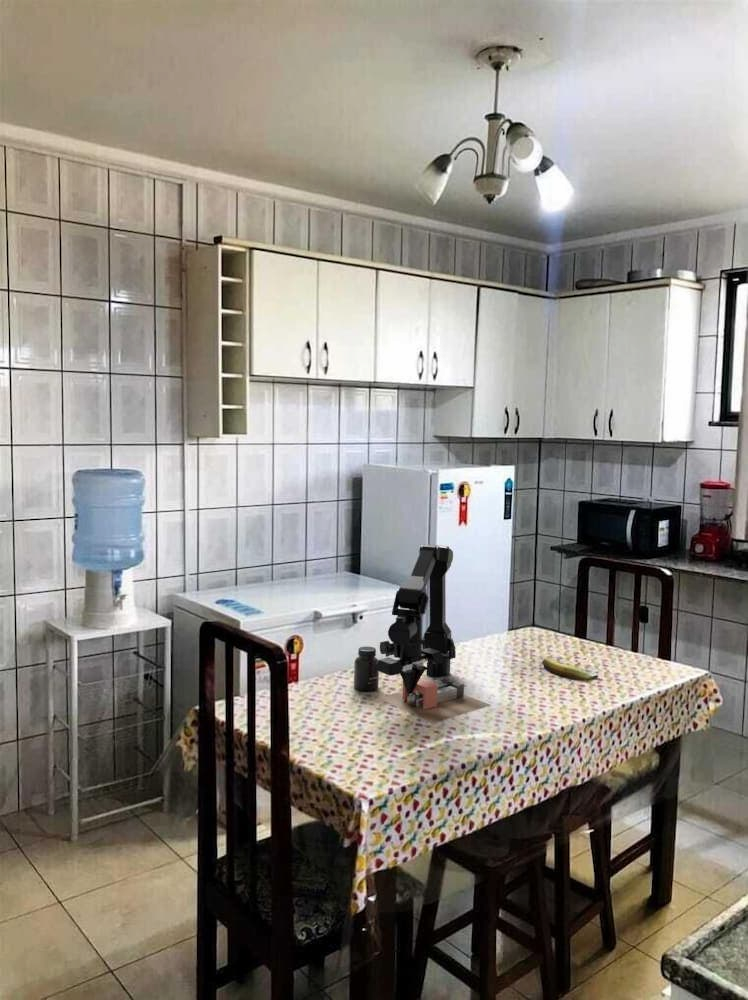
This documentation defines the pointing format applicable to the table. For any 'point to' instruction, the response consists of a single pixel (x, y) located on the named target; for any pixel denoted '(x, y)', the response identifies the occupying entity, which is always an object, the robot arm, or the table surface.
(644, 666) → the table surface
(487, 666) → the table surface
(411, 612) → the robot arm
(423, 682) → the pink u-shaped block
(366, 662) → the supplement bottle
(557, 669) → the green-yellow banana
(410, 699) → the tongs fixed
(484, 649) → the table surface
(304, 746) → the table surface
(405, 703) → the board
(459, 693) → the tongs jaw
